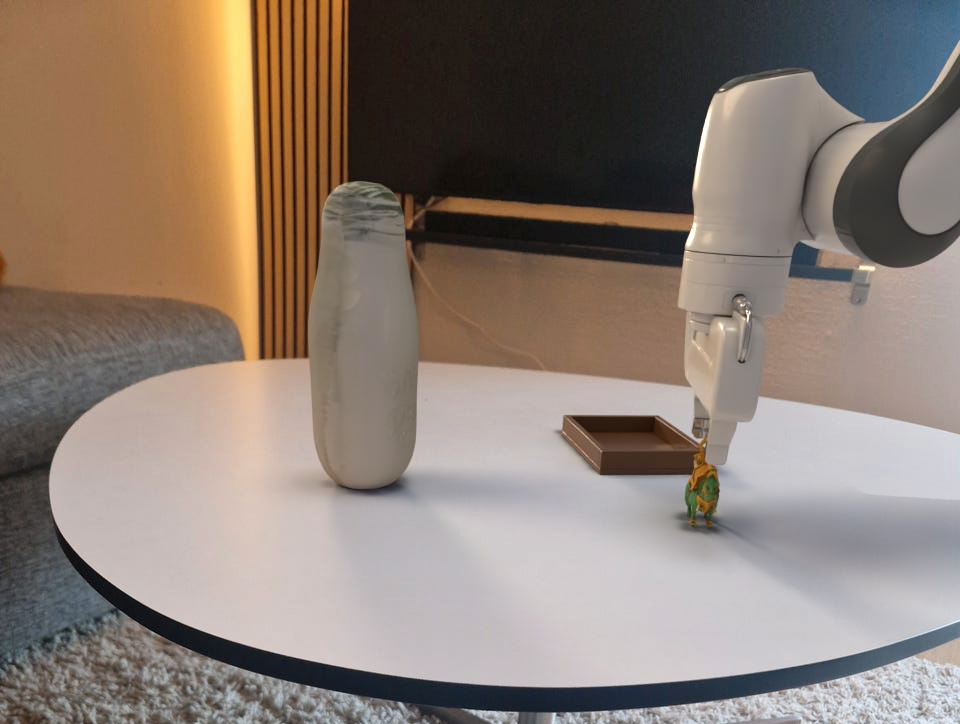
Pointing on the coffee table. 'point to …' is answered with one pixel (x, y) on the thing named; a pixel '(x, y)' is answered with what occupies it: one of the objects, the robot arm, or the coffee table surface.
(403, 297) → the grey tall rounded cylinder
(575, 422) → the walnut tray
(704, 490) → the figurine
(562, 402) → the coffee table surface
